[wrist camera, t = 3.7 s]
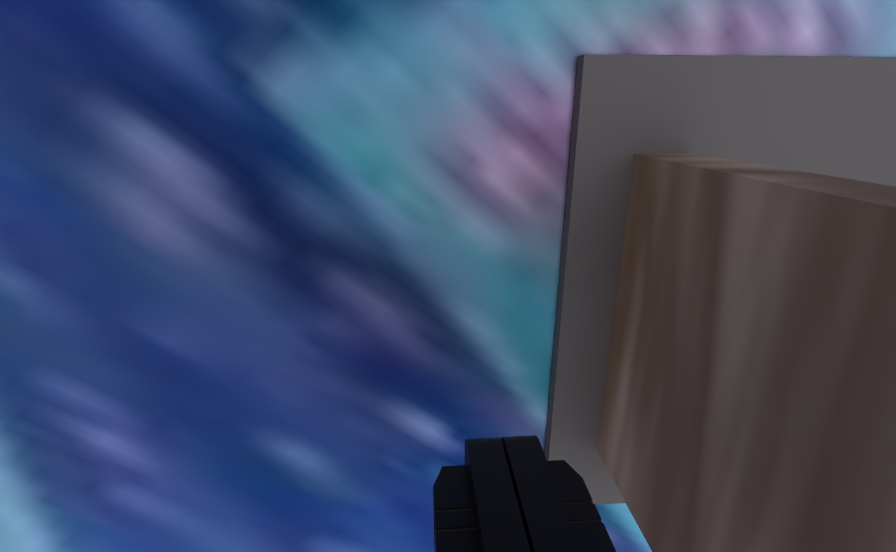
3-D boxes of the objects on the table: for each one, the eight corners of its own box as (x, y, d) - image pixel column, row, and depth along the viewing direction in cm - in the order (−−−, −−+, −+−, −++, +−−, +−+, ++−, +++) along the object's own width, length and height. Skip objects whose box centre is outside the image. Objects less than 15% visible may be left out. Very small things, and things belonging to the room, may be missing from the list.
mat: (540, 497, 21) (544, 507, 21) (577, 56, 15) (584, 54, 15) (913, 475, 22) (926, 484, 22) (1083, 60, 16) (1107, 59, 16)
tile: (596, 448, 20) (842, 900, 9) (634, 153, 16) (1195, 269, 4) (643, 446, 20) (948, 887, 9) (693, 153, 16) (1381, 263, 5)
